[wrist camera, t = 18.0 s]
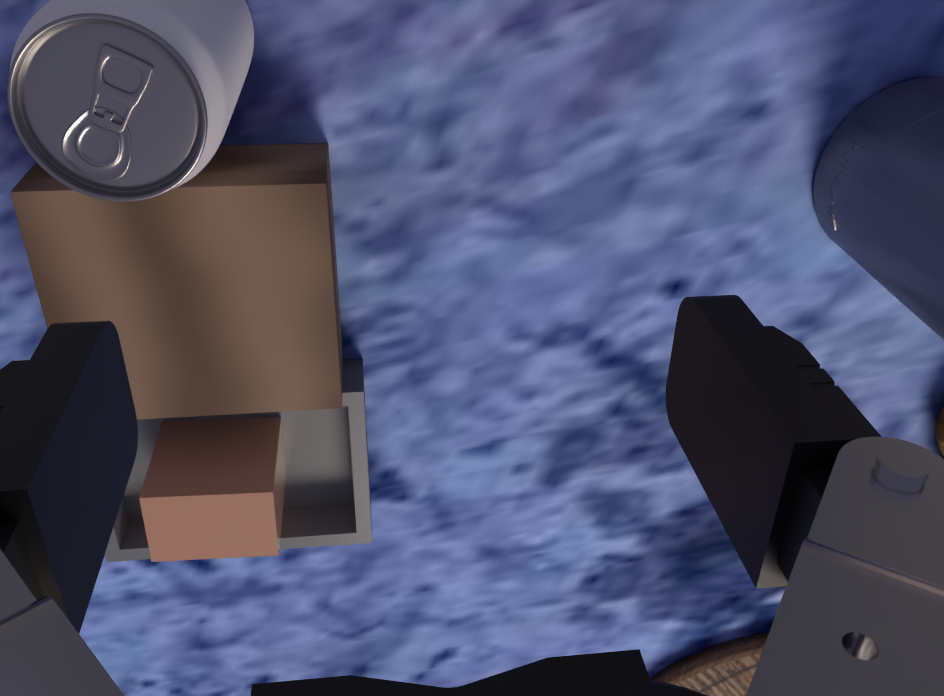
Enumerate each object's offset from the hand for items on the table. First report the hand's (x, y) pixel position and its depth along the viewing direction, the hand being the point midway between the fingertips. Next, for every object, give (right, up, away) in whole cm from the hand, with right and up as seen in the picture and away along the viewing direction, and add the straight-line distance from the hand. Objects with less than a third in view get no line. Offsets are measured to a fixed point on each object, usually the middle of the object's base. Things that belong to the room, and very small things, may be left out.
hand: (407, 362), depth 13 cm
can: (-11, +14, +24) cm, 29 cm away
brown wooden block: (-12, +4, +29) cm, 31 cm away
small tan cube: (-12, -5, +30) cm, 33 cm away
